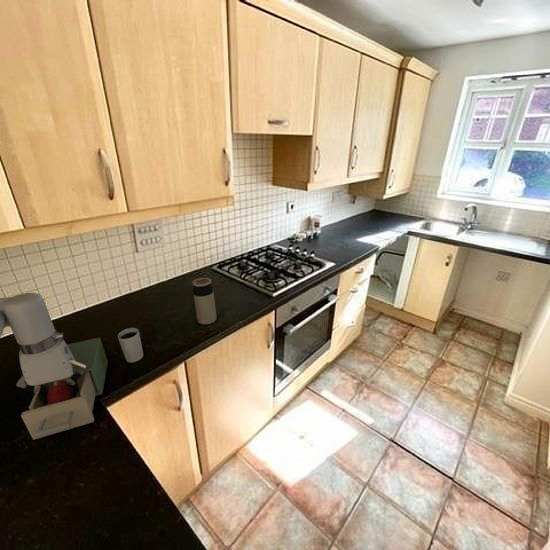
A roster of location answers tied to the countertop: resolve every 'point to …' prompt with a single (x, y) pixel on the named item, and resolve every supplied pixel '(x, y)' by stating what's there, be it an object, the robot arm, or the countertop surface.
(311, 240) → the countertop surface
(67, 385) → the onion
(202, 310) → the travel mug
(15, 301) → the robot arm
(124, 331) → the grey cup
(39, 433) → the drawer
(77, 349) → the cabinet
